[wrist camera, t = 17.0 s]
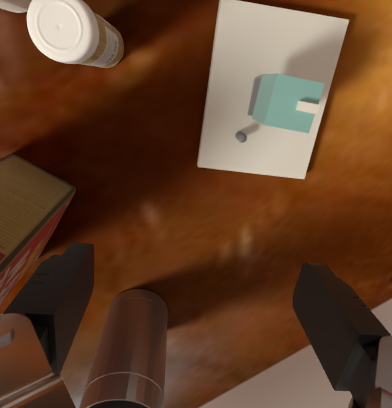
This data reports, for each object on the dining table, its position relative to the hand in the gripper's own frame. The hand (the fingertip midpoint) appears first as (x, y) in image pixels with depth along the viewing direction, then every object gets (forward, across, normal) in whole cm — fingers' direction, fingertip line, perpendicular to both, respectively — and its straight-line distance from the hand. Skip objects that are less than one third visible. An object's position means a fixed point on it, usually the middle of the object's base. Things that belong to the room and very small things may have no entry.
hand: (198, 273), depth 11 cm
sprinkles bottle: (+28, +10, -9) cm, 31 cm away
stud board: (+28, -9, -6) cm, 30 cm away
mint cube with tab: (+23, -9, -6) cm, 26 cm away
